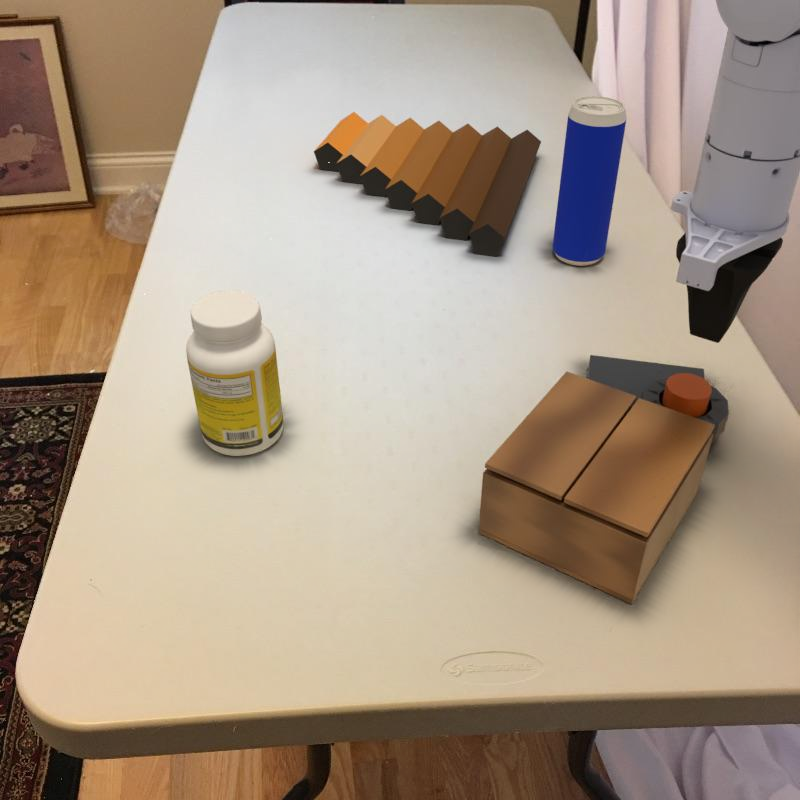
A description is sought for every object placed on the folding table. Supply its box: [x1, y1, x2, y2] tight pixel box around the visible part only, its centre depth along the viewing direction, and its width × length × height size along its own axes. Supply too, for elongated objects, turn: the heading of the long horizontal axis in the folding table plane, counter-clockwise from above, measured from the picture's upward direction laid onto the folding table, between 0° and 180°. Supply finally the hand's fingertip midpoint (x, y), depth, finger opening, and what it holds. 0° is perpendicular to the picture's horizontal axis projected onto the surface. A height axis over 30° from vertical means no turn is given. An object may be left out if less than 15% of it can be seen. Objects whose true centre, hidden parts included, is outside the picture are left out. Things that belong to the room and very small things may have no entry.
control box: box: [586, 354, 730, 443], centre depth 69 cm, size 10×10×3 cm
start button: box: [662, 373, 712, 417], centre depth 66 cm, size 3×3×2 cm
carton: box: [478, 370, 713, 605], centre depth 60 cm, size 11×12×6 cm
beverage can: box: [552, 95, 627, 267], centre depth 85 cm, size 5×5×15 cm
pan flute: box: [313, 111, 542, 257], centre depth 100 cm, size 25×3×25 cm
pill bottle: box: [185, 289, 284, 457], centre depth 65 cm, size 6×6×11 cm
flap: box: [564, 398, 715, 537], centre depth 57 cm, size 5×12×1 cm, turn 146°
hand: (707, 334), depth 62 cm, fingers closed
